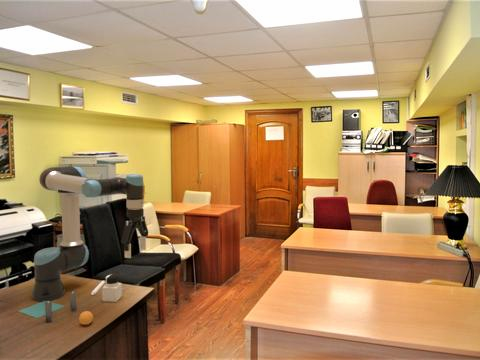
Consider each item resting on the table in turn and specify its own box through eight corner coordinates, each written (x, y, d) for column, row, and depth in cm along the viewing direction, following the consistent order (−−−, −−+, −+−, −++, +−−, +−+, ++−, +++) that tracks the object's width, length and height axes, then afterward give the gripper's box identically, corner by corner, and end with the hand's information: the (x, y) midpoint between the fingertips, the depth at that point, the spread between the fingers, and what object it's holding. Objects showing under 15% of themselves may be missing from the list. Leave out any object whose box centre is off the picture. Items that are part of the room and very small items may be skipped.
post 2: (69, 311, 178) (68, 292, 177) (74, 308, 180) (73, 290, 180) (73, 312, 177) (72, 293, 176) (77, 310, 179) (77, 291, 178)
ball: (76, 325, 165) (76, 312, 164) (87, 320, 169) (86, 308, 169) (85, 328, 162) (85, 315, 161) (95, 323, 167) (95, 310, 166)
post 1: (44, 321, 167) (43, 301, 166) (49, 319, 169) (48, 299, 169) (48, 323, 166) (47, 302, 165) (53, 320, 168) (52, 300, 167)
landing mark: (17, 311, 177) (17, 310, 177) (45, 300, 189) (45, 300, 189) (37, 318, 170) (37, 317, 170) (64, 306, 183) (64, 306, 183)
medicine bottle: (122, 296, 196) (121, 273, 195) (116, 302, 189) (115, 278, 188) (108, 295, 197) (108, 272, 196) (102, 301, 190) (101, 277, 188)
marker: (94, 296, 196) (94, 292, 196) (89, 296, 196) (89, 292, 196) (105, 284, 214) (105, 280, 213) (101, 284, 214) (101, 280, 213)
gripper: (127, 213, 164) (128, 262, 166) (155, 204, 188) (155, 247, 190) (112, 212, 166) (113, 260, 168) (141, 203, 190) (141, 246, 192)
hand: (135, 253), depth 179 cm, fingers open, 13 cm apart
